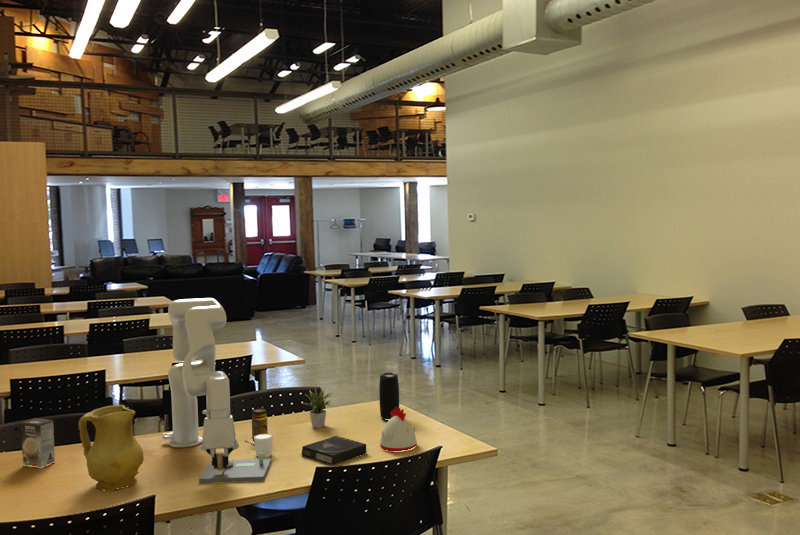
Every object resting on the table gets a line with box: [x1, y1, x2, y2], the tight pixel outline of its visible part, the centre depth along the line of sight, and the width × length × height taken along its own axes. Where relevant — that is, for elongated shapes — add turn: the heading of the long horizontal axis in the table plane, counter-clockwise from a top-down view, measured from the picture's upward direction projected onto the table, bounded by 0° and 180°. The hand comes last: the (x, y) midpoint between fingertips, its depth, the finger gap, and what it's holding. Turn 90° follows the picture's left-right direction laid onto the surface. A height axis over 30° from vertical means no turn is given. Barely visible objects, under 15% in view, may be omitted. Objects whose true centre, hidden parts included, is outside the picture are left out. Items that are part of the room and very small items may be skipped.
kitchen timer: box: [379, 407, 418, 451], centre depth 255 cm, size 14×14×15 cm
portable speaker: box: [378, 372, 400, 420], centre depth 293 cm, size 9×9×20 cm
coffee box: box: [20, 417, 56, 467], centre depth 242 cm, size 9×6×16 cm
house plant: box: [302, 388, 336, 429], centre depth 283 cm, size 14×14×16 cm
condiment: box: [251, 408, 269, 441], centre depth 266 cm, size 7×8×12 cm
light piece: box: [216, 451, 234, 475], centre depth 229 cm, size 13×6×6 cm, turn 4°
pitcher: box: [78, 404, 144, 491], centre depth 222 cm, size 17×19×25 cm
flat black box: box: [301, 435, 367, 466], centre depth 247 cm, size 16×17×4 cm
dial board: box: [198, 452, 272, 484], centre depth 230 cm, size 21×18×6 cm
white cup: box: [254, 433, 274, 458], centre depth 248 cm, size 7×7×7 cm
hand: (220, 467), depth 225 cm, fingers closed on light piece, 2 cm apart
